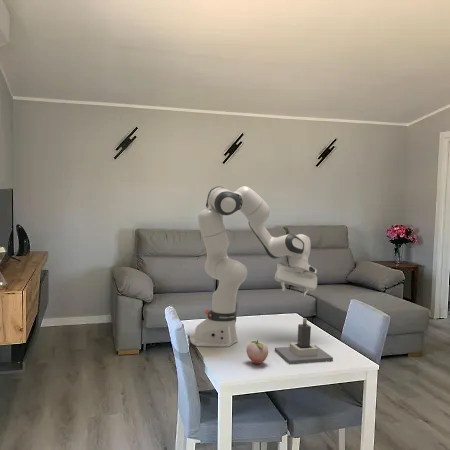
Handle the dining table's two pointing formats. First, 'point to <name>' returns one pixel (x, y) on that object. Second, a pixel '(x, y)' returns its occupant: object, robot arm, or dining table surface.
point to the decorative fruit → (257, 351)
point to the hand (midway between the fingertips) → (293, 294)
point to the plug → (304, 335)
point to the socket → (302, 354)
